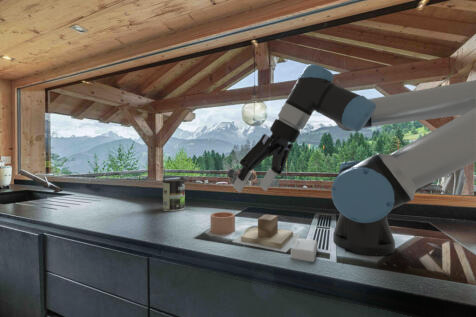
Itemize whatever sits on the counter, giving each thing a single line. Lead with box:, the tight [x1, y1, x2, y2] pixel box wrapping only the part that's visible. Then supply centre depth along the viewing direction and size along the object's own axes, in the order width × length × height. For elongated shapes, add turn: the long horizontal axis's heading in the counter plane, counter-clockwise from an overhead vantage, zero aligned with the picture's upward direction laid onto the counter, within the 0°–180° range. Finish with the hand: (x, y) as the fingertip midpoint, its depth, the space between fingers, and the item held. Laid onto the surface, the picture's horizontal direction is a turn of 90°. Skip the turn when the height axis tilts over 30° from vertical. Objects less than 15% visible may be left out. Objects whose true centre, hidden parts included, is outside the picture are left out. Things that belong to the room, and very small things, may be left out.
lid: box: [240, 214, 294, 248], centre depth 70 cm, size 12×12×6 cm
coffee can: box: [162, 178, 186, 212], centre depth 112 cm, size 10×10×14 cm
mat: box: [231, 226, 302, 253], centre depth 70 cm, size 16×16×1 cm
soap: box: [290, 237, 318, 262], centre depth 59 cm, size 9×6×3 cm, turn 156°
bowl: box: [210, 211, 236, 235], centre depth 78 cm, size 8×8×6 cm
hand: (250, 189), depth 67 cm, fingers open, 13 cm apart
